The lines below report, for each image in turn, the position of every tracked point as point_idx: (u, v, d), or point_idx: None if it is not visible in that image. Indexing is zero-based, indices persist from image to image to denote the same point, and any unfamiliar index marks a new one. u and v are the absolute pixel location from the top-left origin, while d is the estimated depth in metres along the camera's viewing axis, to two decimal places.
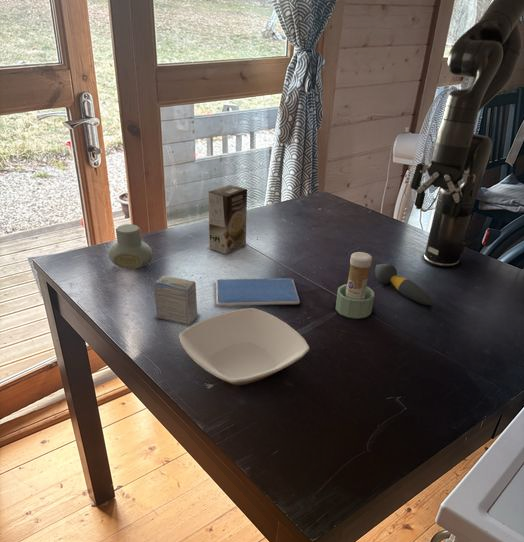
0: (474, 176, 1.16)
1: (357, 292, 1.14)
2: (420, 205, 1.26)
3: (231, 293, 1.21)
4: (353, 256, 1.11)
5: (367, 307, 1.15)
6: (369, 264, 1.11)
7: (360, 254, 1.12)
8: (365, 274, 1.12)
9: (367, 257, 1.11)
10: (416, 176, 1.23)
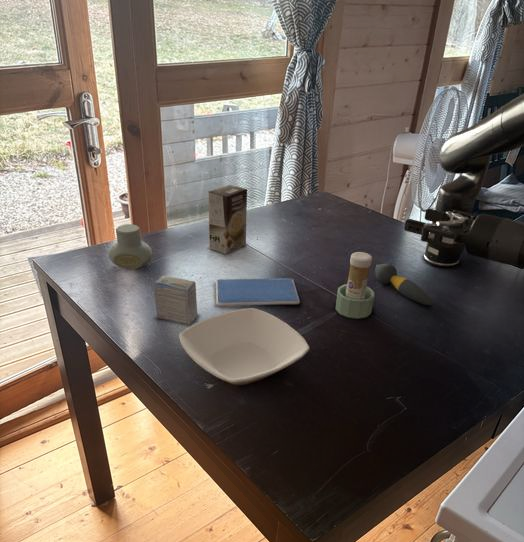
0: None
1: (357, 292, 1.14)
2: None
3: (231, 293, 1.21)
4: (353, 256, 1.11)
5: (367, 307, 1.15)
6: (369, 264, 1.11)
7: (360, 254, 1.12)
8: (365, 274, 1.12)
9: (367, 257, 1.11)
10: None
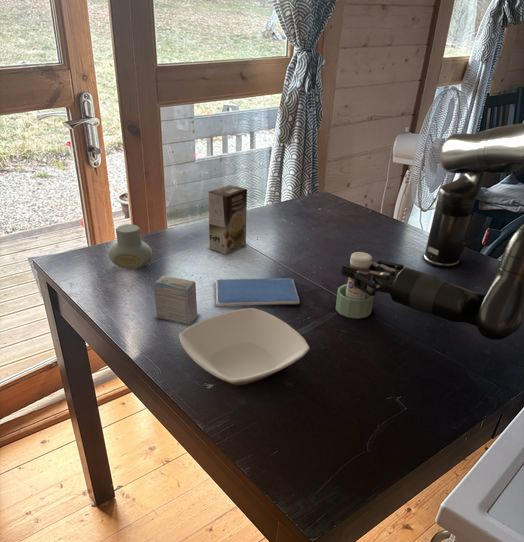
0: None
1: (357, 292, 1.14)
2: None
3: (231, 293, 1.21)
4: (353, 256, 1.11)
5: (367, 307, 1.15)
6: (369, 264, 1.11)
7: (360, 254, 1.12)
8: None
9: (367, 257, 1.11)
10: None
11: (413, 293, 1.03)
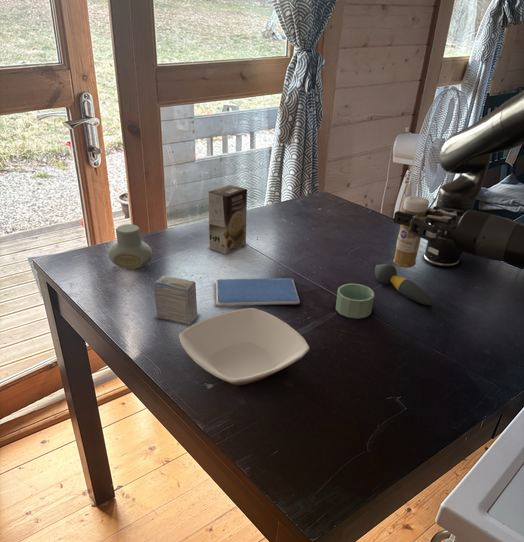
0: None
1: (410, 242, 1.01)
2: None
3: (231, 293, 1.21)
4: (407, 200, 0.98)
5: (367, 307, 1.15)
6: (426, 208, 0.98)
7: (415, 198, 0.99)
8: None
9: (423, 200, 0.98)
10: None
11: (481, 236, 0.90)
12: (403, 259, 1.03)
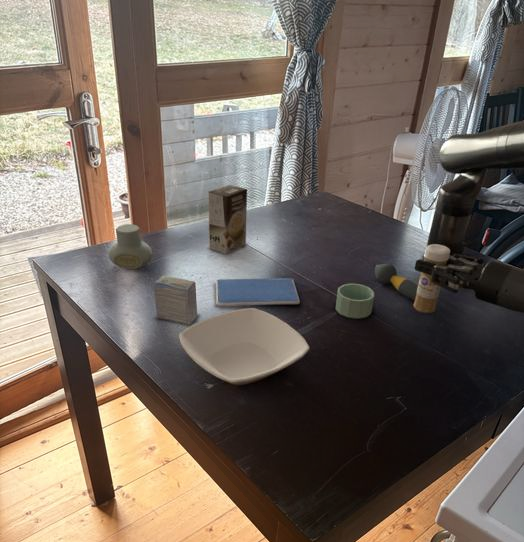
0: None
1: (431, 289, 1.02)
2: None
3: (231, 293, 1.21)
4: (429, 249, 0.99)
5: (367, 307, 1.15)
6: (447, 257, 0.99)
7: (436, 247, 1.00)
8: None
9: (444, 249, 0.99)
10: None
11: (504, 289, 0.91)
12: (424, 305, 1.05)
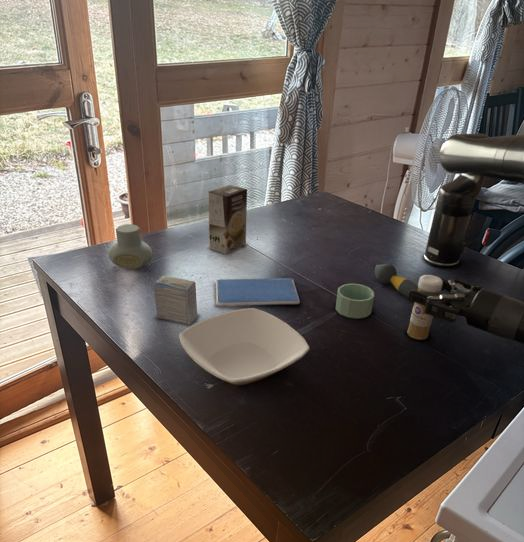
0: None
1: (424, 317, 1.06)
2: None
3: (231, 293, 1.21)
4: (422, 280, 1.03)
5: (367, 307, 1.15)
6: (440, 288, 1.03)
7: (429, 278, 1.04)
8: None
9: (437, 281, 1.03)
10: None
11: (494, 317, 0.95)
12: (417, 332, 1.08)
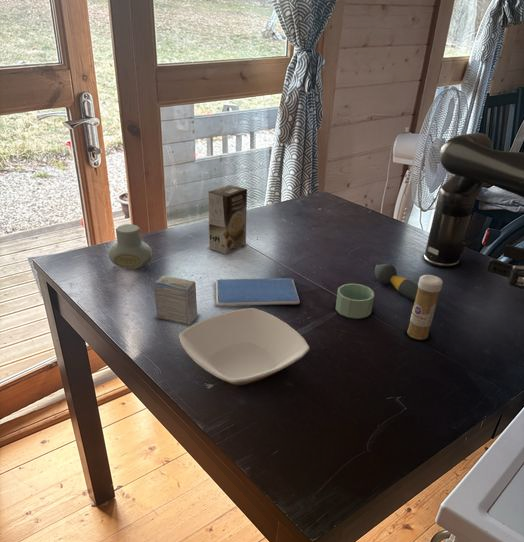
0: None
1: (424, 317, 1.06)
2: None
3: (231, 293, 1.21)
4: (422, 280, 1.03)
5: (367, 307, 1.15)
6: (440, 288, 1.03)
7: (429, 278, 1.04)
8: (434, 299, 1.04)
9: (437, 280, 1.03)
10: None
11: None
12: (417, 332, 1.08)
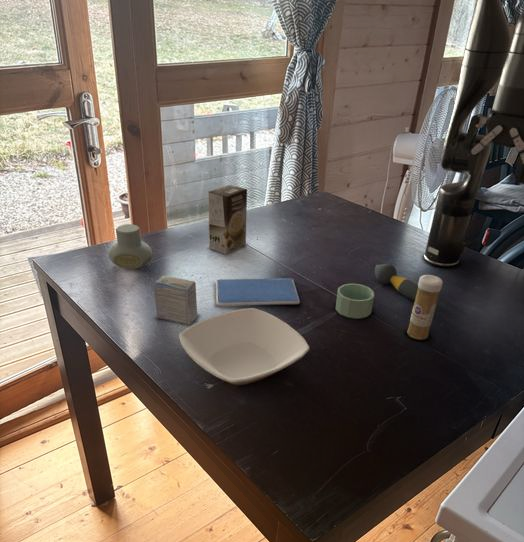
0: None
1: (424, 317, 1.06)
2: None
3: (231, 293, 1.21)
4: (422, 280, 1.03)
5: (367, 307, 1.15)
6: (440, 288, 1.03)
7: (429, 278, 1.04)
8: (434, 299, 1.04)
9: (437, 280, 1.03)
10: None
11: None
12: (417, 332, 1.08)
